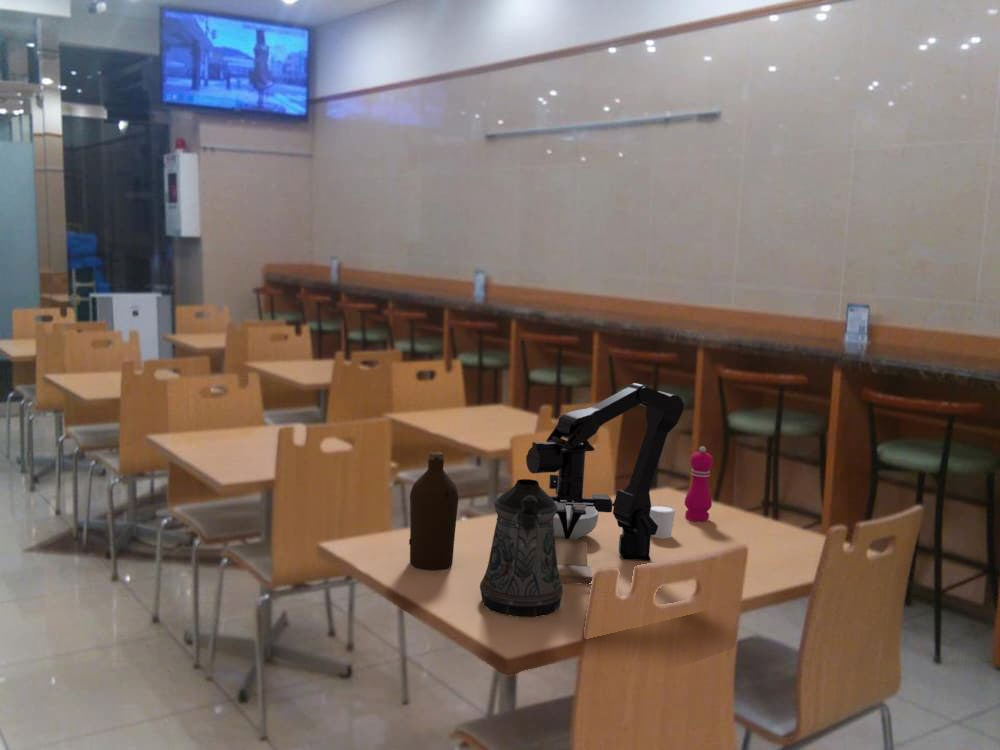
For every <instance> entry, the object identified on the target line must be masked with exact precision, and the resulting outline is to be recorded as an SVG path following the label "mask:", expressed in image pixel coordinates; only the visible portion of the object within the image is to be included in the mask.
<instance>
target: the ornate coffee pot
mask: <svg viewBox="0 0 1000 750" xmlns="http://www.w3.org/2000/svg"><path fill="white" fill-rule="evenodd" d="M550 496H551V495H549V494H548V493H547V492H546V491H545V490H544V489H543V488H542V487H541V486H540V484H539V481H538V480H536V479H532V478H529V479H528V478H527V479H526V478H521V479H517V480H516V483H515V484H514V486H512V487H511V488H509V490H506V491H505V492H503V493H502V494H501V495H499V496H498V498H497V499H495V500H494V501H495V502H494V510H495V513H496V514H497V517H496V523H495V528H494V532H493V537H492V543H491V548H490V552H489V558H488V564H487V567H486V570H485V573H484V575H483V578H482V579H481V582H480V585H479V589H480V594H481V601H482V604H483V607H485V606H486V607H485V608H487V609H488V610H489V609H490V611H491V610H492V611H491V612H494V611H495V612H494V613H497V612H498V613H497V614H499V613H501V614H500V615H502V614H504V615H503V616H509V615H511V617H516V616H517V618H535V617H536V616H538V617H543V615H545V616H548V615H551V614H553V613H556V612H557V611H558V609H559V608H560V605H561V601H562V598H563V593H564V588H563V585H562V584H563V583H561V581H560V577H559V572H558V566H557V558H556V549H555V537H554V526H553V518H554V516H555V514H556V511H557V505H556V503H555V502H554V500H553V499H552V498H551V497H550ZM556 610H557V611H556ZM555 611H556V612H555ZM550 613H551V614H550ZM547 614H548V615H547Z"/></svg>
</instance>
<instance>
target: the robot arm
mask: <svg viewBox="0 0 1000 750" xmlns="http://www.w3.org/2000/svg"><path fill="white" fill-rule="evenodd" d="M639 405H643V406H644V407H646V409H645V418H646V424H647V425H646V430H645V434H644V437H643V440H642V443H641V447H640V449H639V452H638V456H637V459H636V462H635V465H634V468H633V471H632V475H631V477H630V481H629V484H628V485H627V487H625V489H623V490H621V489H617V492H616V494H615V499H614V501H613V500H612V499H611V496H610V495H609V494H603V493H593V494H592V497H583V496H584V483H585V482H584V480H585V479H584V478H585V463H586V452H594V451H595V447H593V445H591V443H590V442H589V440H590V438H592V437H594V435H596V434H597V432H598V431H599V429H600V427H602V426H603V425H605V424H606V423H609V421H611V420H613V419H615V418H617V417H619V416H621V415H623V414H624V413H627V412H628V411H629V410H632V409H633V408H636V407H637V406H639ZM684 409H685V403H684V402H683V399H682V398H681V396H679V395H677V394H673V393H668V392H666V391H660V390H655V389H652V388H650V387H649V386H647V385H644V384H642V383H641V384H640V383H635V382H633V383H631V384H629V385H628V386H627V387H625V388H624V389H623V390H620V391H618V392H617V393H614V394H613V395H611V396H609V397H607V398H605V399H604V400H602V401H599V402H598V403H596V404H594V405H593V406H590V407H587V408H583V409H576V410H572V411H570V412H566V413H563V414H562V415H561V416H559V417H558V422H557V425H556V426H555V427H554V429H552V432H551V433H550V435H549V436H548V437H547V439H546V442H545V441H543V442H539V441H533V442H532V443H531V447H530V448H529V450H528V452H527V455H526V456H525V458H526V459H525V462H526V466H527V469H528V471H529V473H531V474H546V473H556V472H558V473H557V474H550V475H549V481H548V482H549V483H548V489H549V490H555V495H549V496H550V497H551V498H552V499H553V500H554V502H555V503H556V505H557V511H556V513H557V514H558V516H559V518H560V521H561V523H562V527H563V531H564V535H565V539H569V538H570V536H571V533H572V531H573V529H574V527H575V525H576V523H577V521H578V520H579V518H580V517H581V515H586V511H585V508H586V506H591V507H595V509H596V510H597V511H598V513H612V514H613V516H614V518H615V519H616V522H617V526H618V527H619V528H622V532H621V533H622V534H620V535H619V538H618V539H619V541H618V553H619V555H620V556H621V558H622V559H623V560H627V561H628V560H631V561H632V560H633V561H646V562H647V561H649V562H650V561H651V560H652V558H651V557H650V552H651V551H650V550H651V538H652V537H651V535H655V534H656V531H657V529H658V526H657V524H656V523H655V522H654V521H653V520H652V518H651V517H650V510H651V506H652V503H651V502H652V501H651V495H650V490H651V487H652V485H653V480H654V478H655V476H656V472H657V469H658V466H659V462H660V458H661V456H662V453H663V449H664V447H665V443H666V440H667V438H668V434H670V432H671V431H672V430H673V429H674V428H675V427H676V426H677V425H678V424H679V422H680V419H681V417H682V415H683V413H684ZM563 438H564V439H563ZM560 500H561V501H560ZM562 500H563V501H562ZM565 500H566V501H565ZM572 501H574V502H572ZM566 505H571V513H570V519H569V524H568V529H567V512H566V508H565V507H566Z"/></svg>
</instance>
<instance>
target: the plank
mask: <svg viewBox="0 0 1000 750" xmlns="http://www.w3.org/2000/svg"><path fill="white" fill-rule="evenodd" d="M587 545H588V544H587V539H556V538H555V549H556V558H557V565H575V566H588V548H587Z"/></svg>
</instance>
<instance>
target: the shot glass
mask: <svg viewBox="0 0 1000 750" xmlns="http://www.w3.org/2000/svg"><path fill="white" fill-rule="evenodd" d="M675 515H676V509H675V508H674V507H671V506H667V505H661V504H660V505H656V504H655V505H651V510H650V517H651V518H652V520H653V521H654V522H655V523H656V524H657V526H658V529H657V531H656V534H655V535H651V538H655V539H664V540H665V539H670V538H671V537H672V531H673V526H674V521H675Z"/></svg>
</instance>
